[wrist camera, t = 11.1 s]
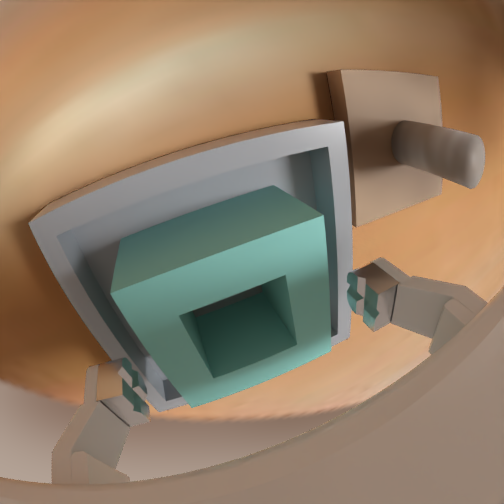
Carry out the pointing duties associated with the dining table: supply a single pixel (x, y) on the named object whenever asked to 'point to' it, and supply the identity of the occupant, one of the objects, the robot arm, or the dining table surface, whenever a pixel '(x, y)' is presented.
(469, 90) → the dining table surface
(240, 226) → the ring
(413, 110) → the stake
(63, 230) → the tray
